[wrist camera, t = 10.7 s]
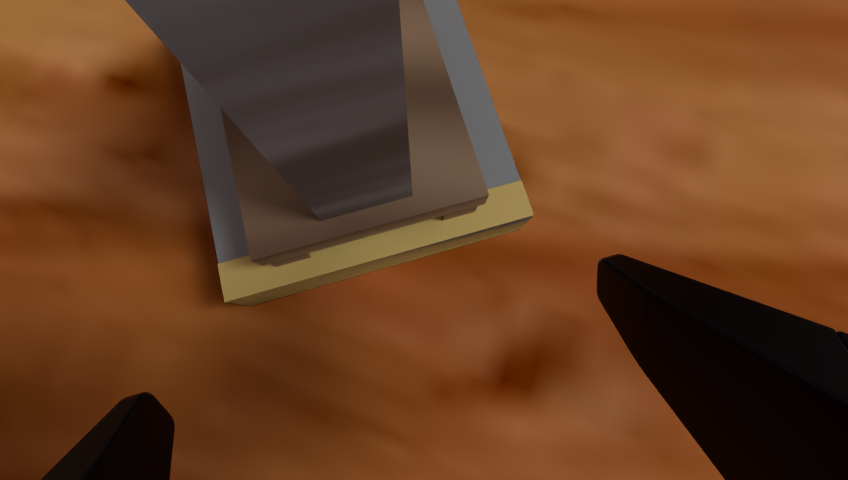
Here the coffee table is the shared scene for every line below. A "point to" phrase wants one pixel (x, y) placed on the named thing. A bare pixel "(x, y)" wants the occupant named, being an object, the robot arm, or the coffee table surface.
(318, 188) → the grey column with base
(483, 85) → the dock
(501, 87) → the coffee table surface
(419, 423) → the coffee table surface
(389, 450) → the coffee table surface
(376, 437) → the coffee table surface
